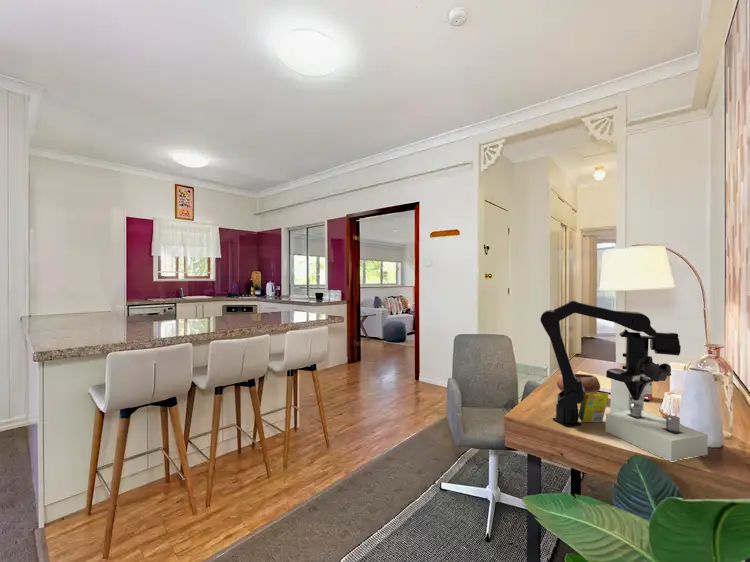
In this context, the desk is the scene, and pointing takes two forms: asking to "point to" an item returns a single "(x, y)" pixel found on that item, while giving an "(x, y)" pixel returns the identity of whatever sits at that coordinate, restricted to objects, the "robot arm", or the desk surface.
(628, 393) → the supplement box
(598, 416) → the crayon box
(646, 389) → the ink box
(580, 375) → the bowl
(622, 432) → the block
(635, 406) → the peg near arm
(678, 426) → the peg far side
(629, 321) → the robot arm
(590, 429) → the desk surface
